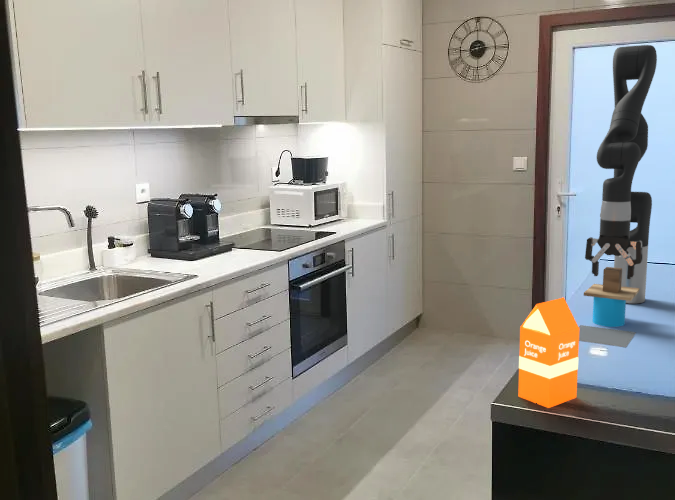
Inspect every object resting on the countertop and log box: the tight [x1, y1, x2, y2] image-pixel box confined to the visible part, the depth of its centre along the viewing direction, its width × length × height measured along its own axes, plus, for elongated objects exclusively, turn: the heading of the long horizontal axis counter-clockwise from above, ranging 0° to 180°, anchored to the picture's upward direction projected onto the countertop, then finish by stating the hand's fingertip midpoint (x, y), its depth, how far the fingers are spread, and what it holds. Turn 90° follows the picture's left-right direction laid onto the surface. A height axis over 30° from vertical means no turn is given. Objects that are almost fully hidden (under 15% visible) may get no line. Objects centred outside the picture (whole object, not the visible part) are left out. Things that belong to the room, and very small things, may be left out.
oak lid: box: [583, 266, 639, 301], centre depth 190 cm, size 12×12×7 cm
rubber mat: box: [578, 324, 637, 348], centre depth 179 cm, size 14×14×1 cm
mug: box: [592, 297, 627, 328], centre depth 191 cm, size 12×8×8 cm
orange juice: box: [517, 296, 580, 409], centre depth 139 cm, size 8×9×20 cm
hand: (612, 277), depth 189 cm, fingers open, 8 cm apart
